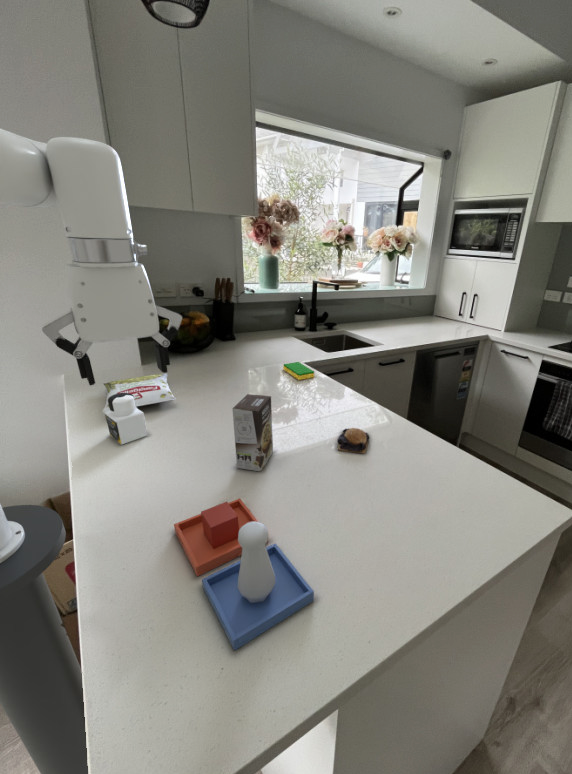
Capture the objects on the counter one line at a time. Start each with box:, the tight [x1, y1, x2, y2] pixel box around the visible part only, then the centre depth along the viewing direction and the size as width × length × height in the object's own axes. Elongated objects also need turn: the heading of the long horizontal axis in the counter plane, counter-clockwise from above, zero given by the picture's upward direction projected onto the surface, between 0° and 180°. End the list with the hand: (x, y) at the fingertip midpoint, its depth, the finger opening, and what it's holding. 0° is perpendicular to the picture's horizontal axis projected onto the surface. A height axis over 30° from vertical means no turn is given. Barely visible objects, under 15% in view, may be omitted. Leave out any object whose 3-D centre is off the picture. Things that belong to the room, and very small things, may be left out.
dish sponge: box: [282, 361, 315, 381], centre depth 152 cm, size 7×14×2 cm, turn 33°
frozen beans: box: [102, 373, 177, 414], centre depth 123 cm, size 21×6×25 cm
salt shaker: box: [238, 521, 275, 603], centre depth 57 cm, size 6×6×13 cm
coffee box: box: [231, 393, 274, 472], centre depth 91 cm, size 9×6×16 cm
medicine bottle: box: [104, 393, 149, 445], centre depth 100 cm, size 7×7×12 cm
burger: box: [337, 427, 370, 455], centre depth 103 cm, size 11×8×4 cm
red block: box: [200, 501, 239, 549], centre depth 69 cm, size 5×5×5 cm
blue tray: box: [201, 543, 315, 651], centre depth 59 cm, size 13×12×2 cm
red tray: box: [173, 497, 269, 577], centre depth 70 cm, size 13×12×2 cm
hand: (128, 375), depth 56 cm, fingers open, 9 cm apart
